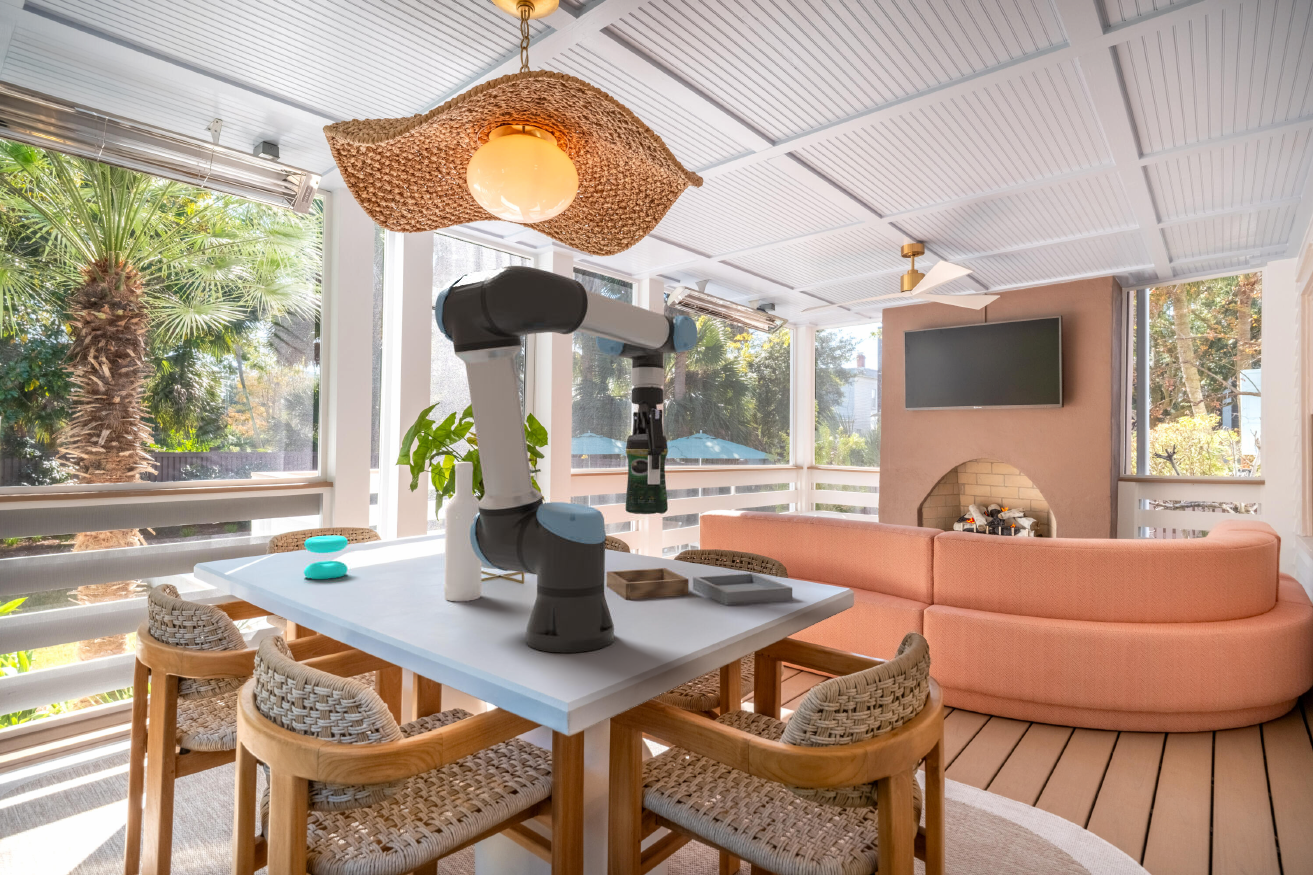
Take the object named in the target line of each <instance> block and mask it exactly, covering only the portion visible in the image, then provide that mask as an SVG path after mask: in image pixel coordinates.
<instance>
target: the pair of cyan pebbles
mask: <svg viewBox="0 0 1313 875" xmlns="http://www.w3.org/2000/svg"><path fill="white" fill-rule="evenodd" d="M348 543H349V541H348V539H347V537H345V536H342V535H319V536H313V537H309V538H307V539H305V541H304V543H303V544H304V548H305V549H306V550H307V551H308V552H311V553H315V554H329V553H337V552H340V551H342V550H344V549H345V548H346V547H347V546H348ZM347 573H348V566H347V564H345V563H344V562H342V561H337V560H322V561H317V562H313V563H310V564H309V565H307V566H306V567H305V568H304V569H303V574H304V576H305V578H307V579H309V578H312V579H311V580H330V579H329V578H333V579H337V577H338V578H341V577H343V576H345V575H346V574H347Z"/></svg>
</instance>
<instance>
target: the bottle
mask: <svg viewBox="0 0 1313 875" xmlns="http://www.w3.org/2000/svg"><path fill="white" fill-rule="evenodd" d="M473 465H474V464H473V462H472V461H456V462H455V466H454V471H455V478H454V479H455V484H454V486H455V487H454V489H455V490H454V491H455V493H454V494H453V496H452V497H450V498H449V499H448V501H447V504H446V505H445V506H446V507H445V510H444V516H445V517H444V519H445V520H444V521H445V522H444V523H445V524H444V584H443V592H444V595H443V596H444V599H445V600H446V601H448V600H449V602H468V601H469V602H470V600H471V601H474V600H478V599H480V597H482V587H483V584H482V561H481V560H480V559H479V558H478V557H477V556H476V554H475V552H474V551H473V548H472V545H471V541H470V528H471V525H472V524H473V523H474V517H475V516H476V514H477V513H478V512H479V508H478V503H479V502H480V500H479V498H478V497H477V496H475V494H474V493H473V471H474V466H473ZM456 517H457V518H456Z"/></svg>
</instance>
